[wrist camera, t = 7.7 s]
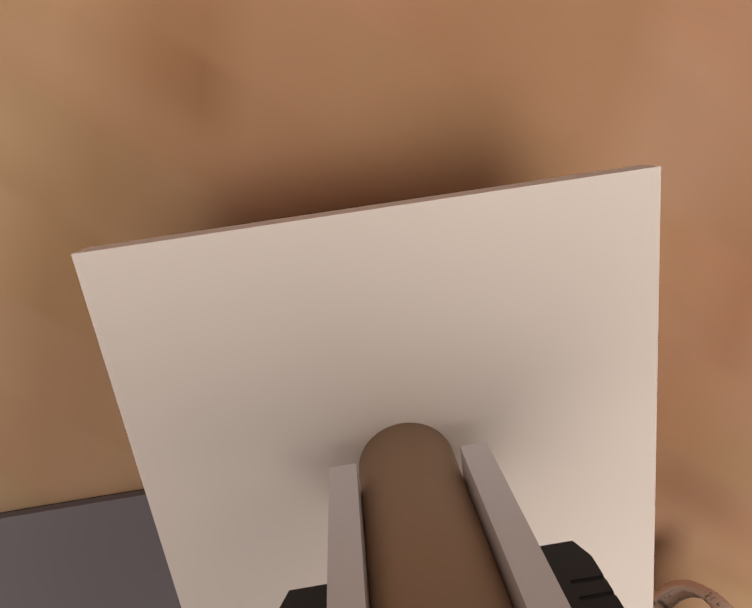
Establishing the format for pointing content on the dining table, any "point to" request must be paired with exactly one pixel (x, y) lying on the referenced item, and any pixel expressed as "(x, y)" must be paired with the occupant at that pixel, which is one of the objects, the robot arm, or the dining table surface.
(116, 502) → the mat
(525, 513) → the lid
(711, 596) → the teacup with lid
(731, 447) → the dining table surface
